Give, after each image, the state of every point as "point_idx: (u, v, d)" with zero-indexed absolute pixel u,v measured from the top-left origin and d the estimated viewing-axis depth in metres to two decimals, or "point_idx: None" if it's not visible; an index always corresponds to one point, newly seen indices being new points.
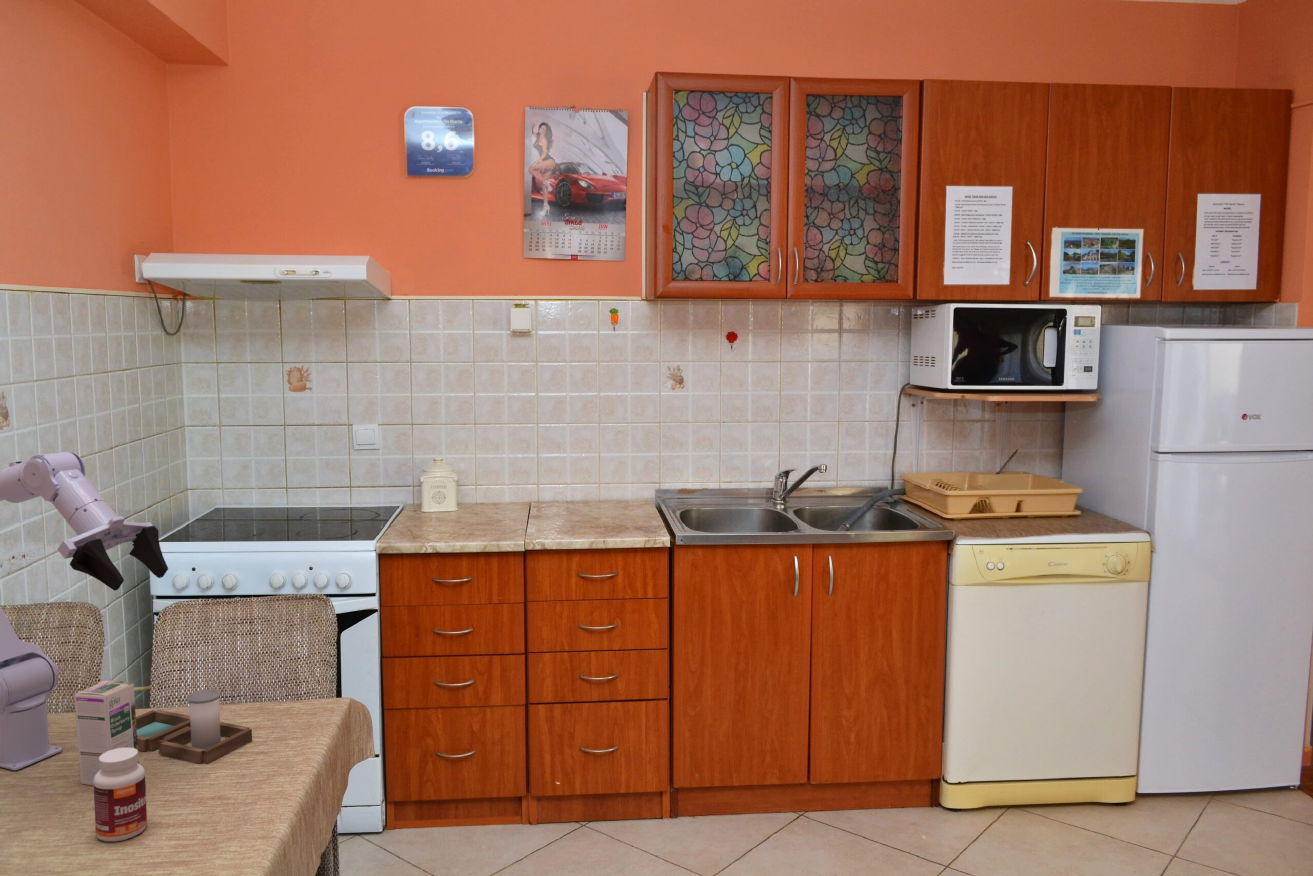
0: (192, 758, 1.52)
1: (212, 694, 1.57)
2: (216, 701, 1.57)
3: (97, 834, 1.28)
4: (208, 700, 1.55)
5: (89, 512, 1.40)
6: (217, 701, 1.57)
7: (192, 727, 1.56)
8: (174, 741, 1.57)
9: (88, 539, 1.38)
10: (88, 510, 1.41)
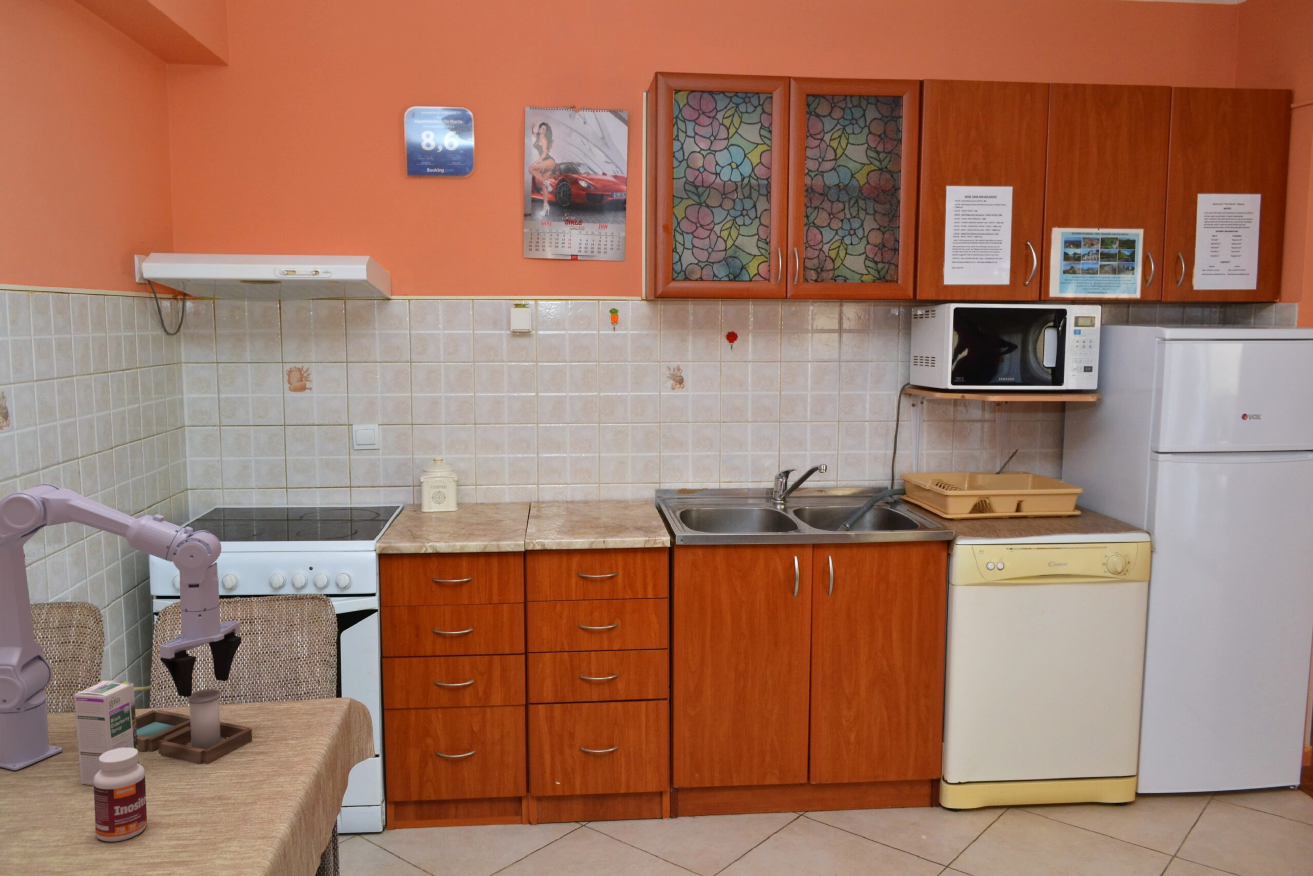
0: (192, 758, 1.52)
1: (212, 694, 1.57)
2: (216, 701, 1.57)
3: (97, 834, 1.28)
4: (208, 700, 1.55)
5: (201, 620, 1.53)
6: (217, 701, 1.57)
7: (192, 727, 1.56)
8: (174, 741, 1.57)
9: None
10: (202, 617, 1.53)
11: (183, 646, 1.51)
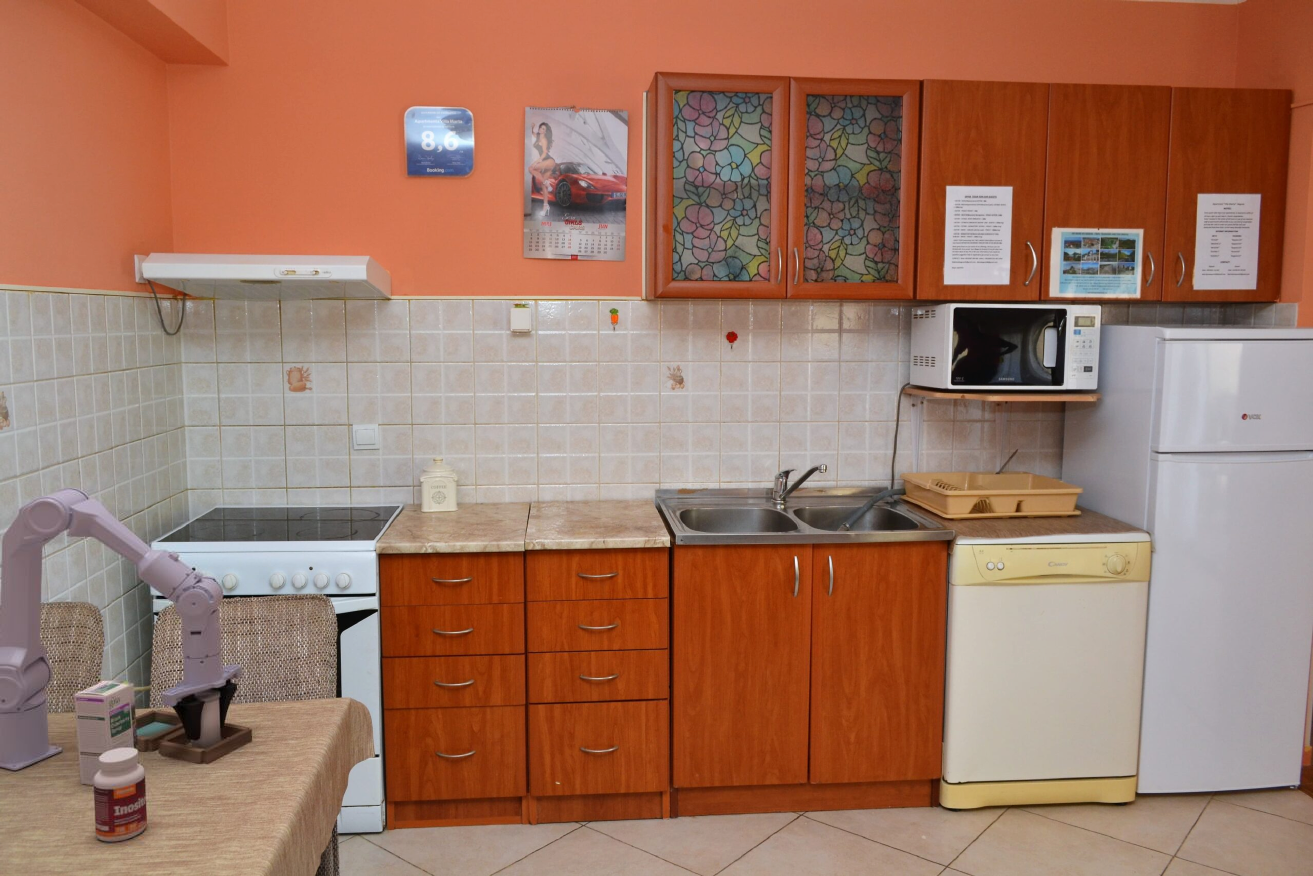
0: (192, 758, 1.52)
1: (212, 694, 1.57)
2: (216, 701, 1.57)
3: (97, 834, 1.28)
4: (208, 700, 1.55)
5: (203, 666, 1.54)
6: (217, 701, 1.57)
7: None
8: (174, 741, 1.57)
9: None
10: (204, 664, 1.54)
11: (185, 693, 1.52)
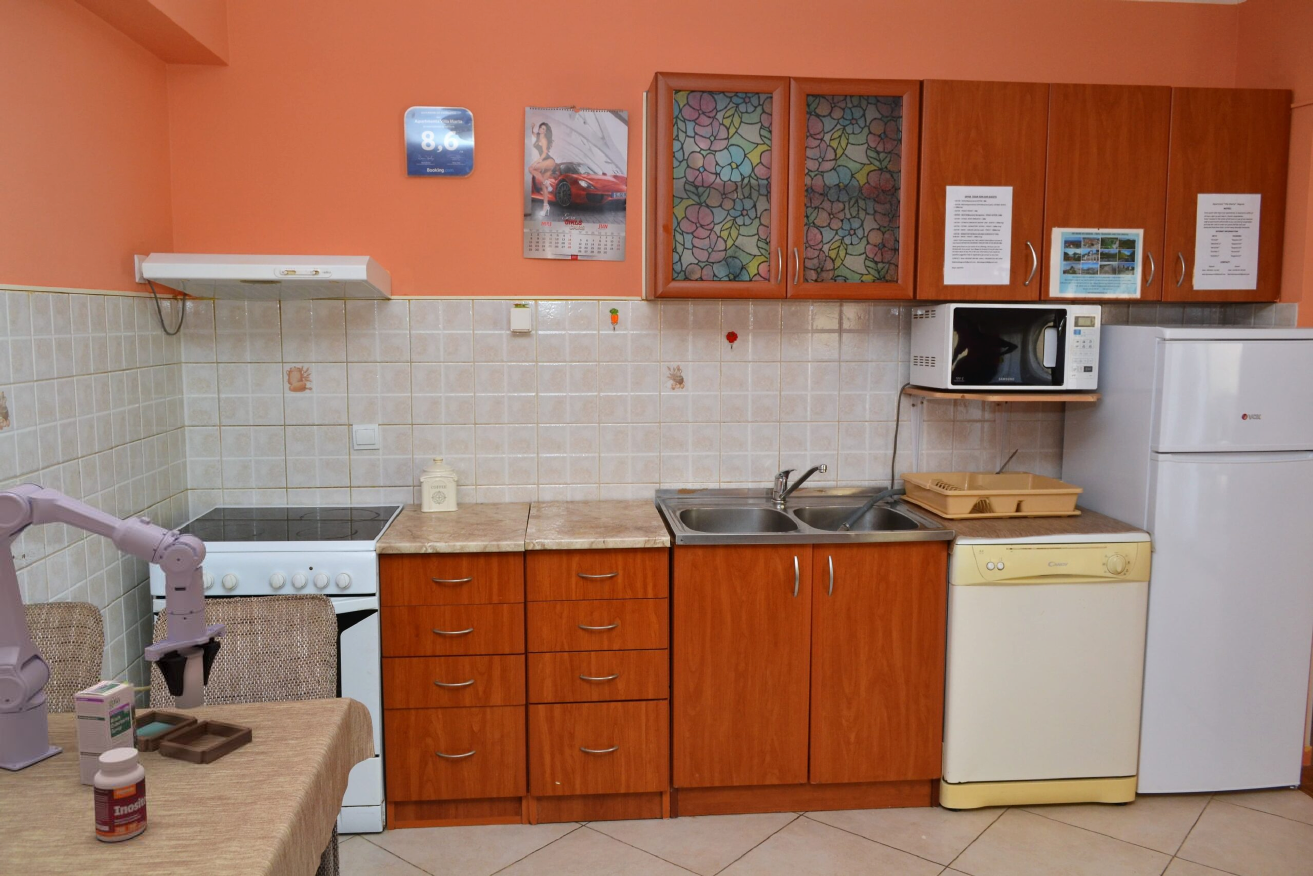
0: (192, 758, 1.52)
1: (195, 651, 1.57)
2: (200, 658, 1.57)
3: (97, 834, 1.28)
4: (192, 657, 1.56)
5: (187, 623, 1.54)
6: (200, 658, 1.57)
7: None
8: (174, 741, 1.57)
9: None
10: (187, 620, 1.54)
11: (168, 649, 1.52)
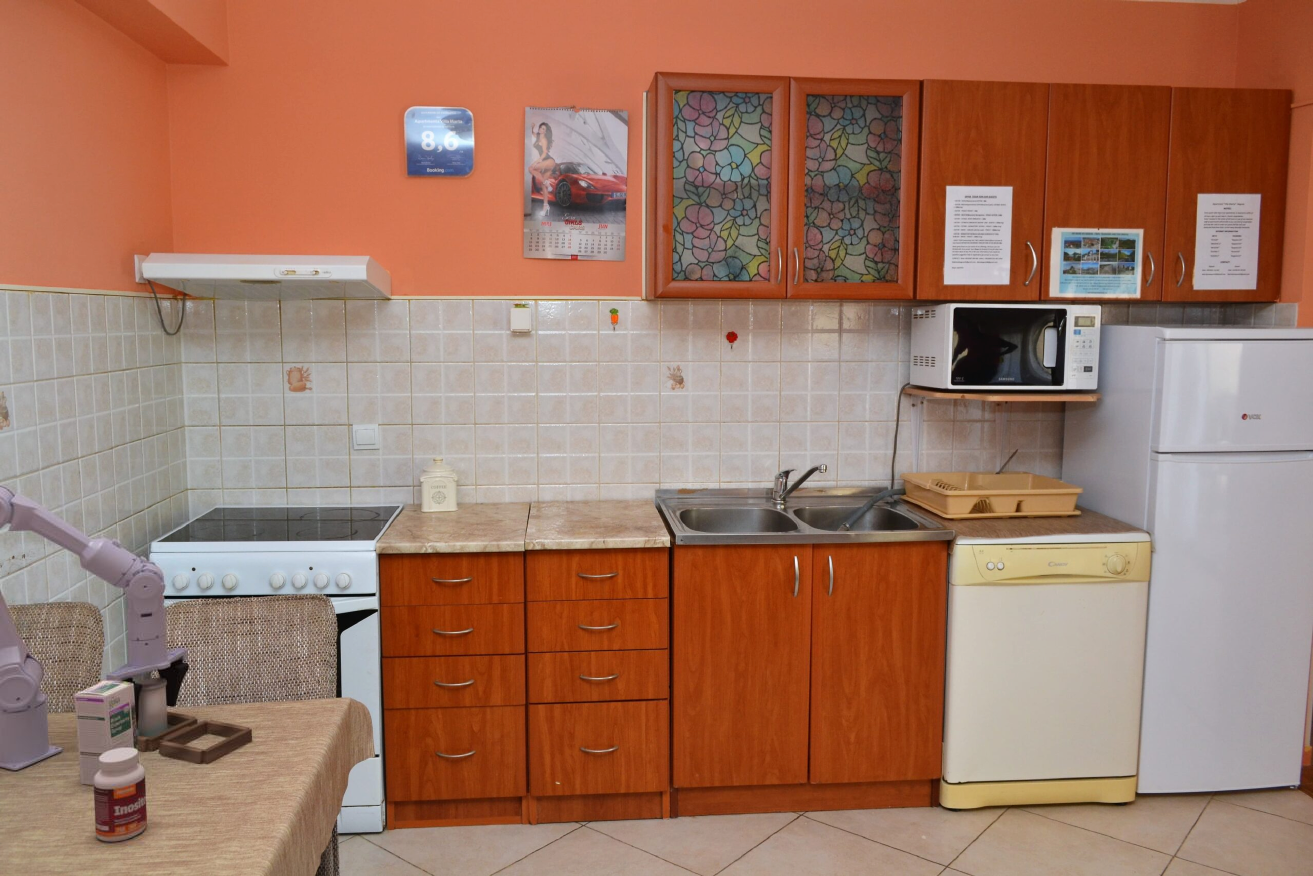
0: (192, 758, 1.52)
1: (158, 682, 1.61)
2: (162, 689, 1.61)
3: (97, 834, 1.28)
4: (154, 688, 1.60)
5: (148, 648, 1.58)
6: (163, 689, 1.61)
7: (139, 714, 1.60)
8: (174, 741, 1.57)
9: None
10: (149, 646, 1.58)
11: (129, 674, 1.56)
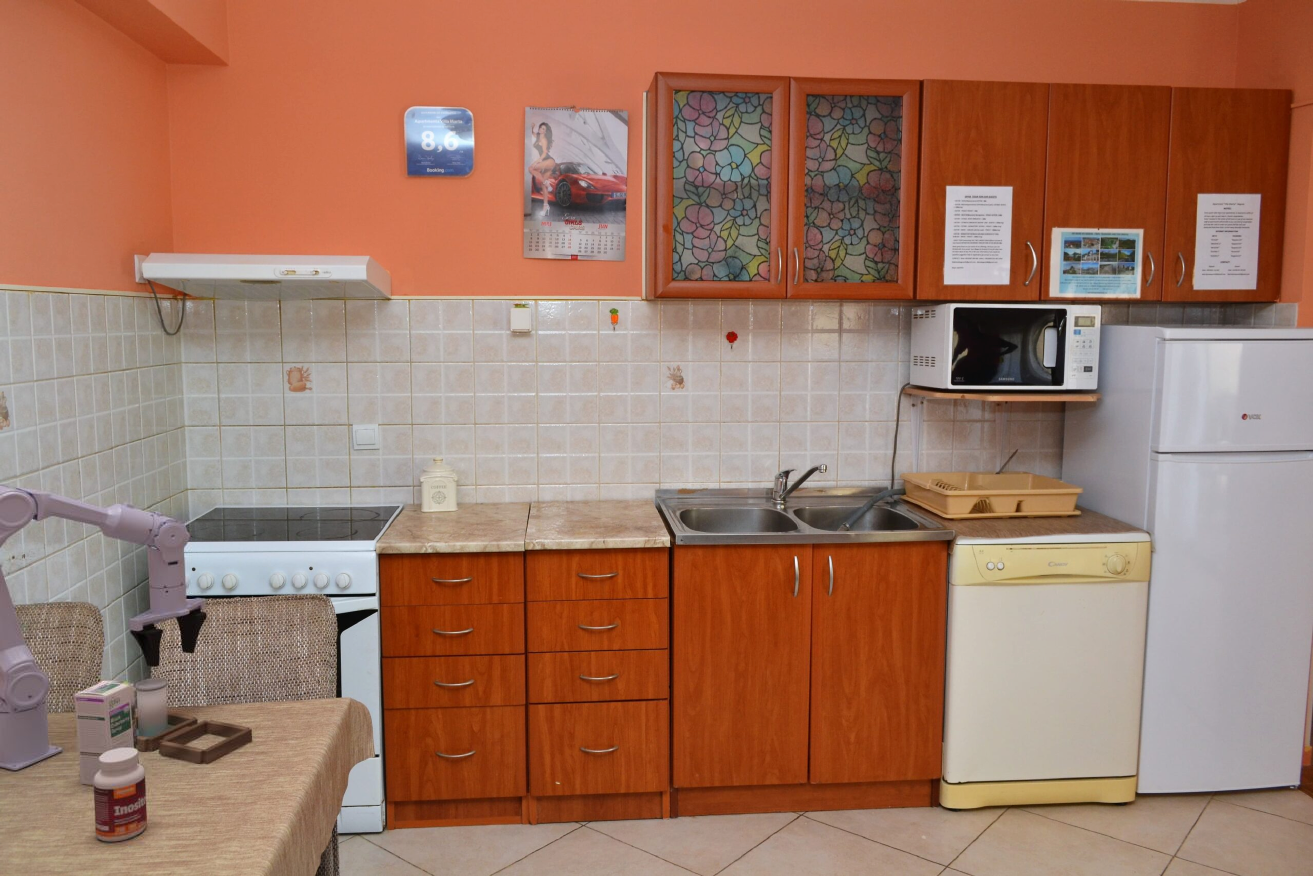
0: (192, 758, 1.52)
1: (159, 682, 1.61)
2: (163, 690, 1.61)
3: (97, 834, 1.28)
4: (155, 688, 1.60)
5: (168, 596, 1.66)
6: (164, 689, 1.61)
7: (139, 714, 1.60)
8: (174, 741, 1.57)
9: None
10: (169, 593, 1.66)
11: (151, 620, 1.64)
